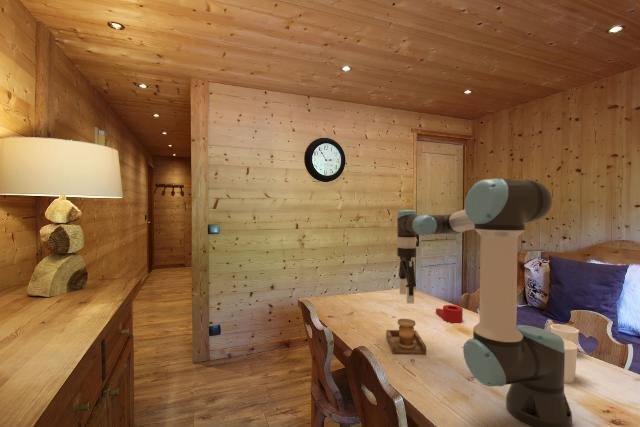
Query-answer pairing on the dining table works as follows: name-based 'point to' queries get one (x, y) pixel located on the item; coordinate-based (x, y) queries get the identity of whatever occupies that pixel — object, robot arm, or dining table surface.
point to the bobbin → (406, 333)
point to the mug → (566, 332)
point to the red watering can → (451, 313)
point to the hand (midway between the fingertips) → (406, 298)
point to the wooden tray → (393, 342)
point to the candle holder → (570, 361)
